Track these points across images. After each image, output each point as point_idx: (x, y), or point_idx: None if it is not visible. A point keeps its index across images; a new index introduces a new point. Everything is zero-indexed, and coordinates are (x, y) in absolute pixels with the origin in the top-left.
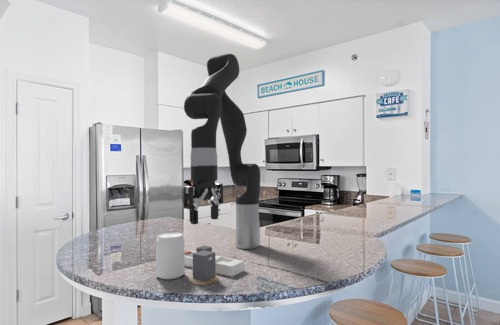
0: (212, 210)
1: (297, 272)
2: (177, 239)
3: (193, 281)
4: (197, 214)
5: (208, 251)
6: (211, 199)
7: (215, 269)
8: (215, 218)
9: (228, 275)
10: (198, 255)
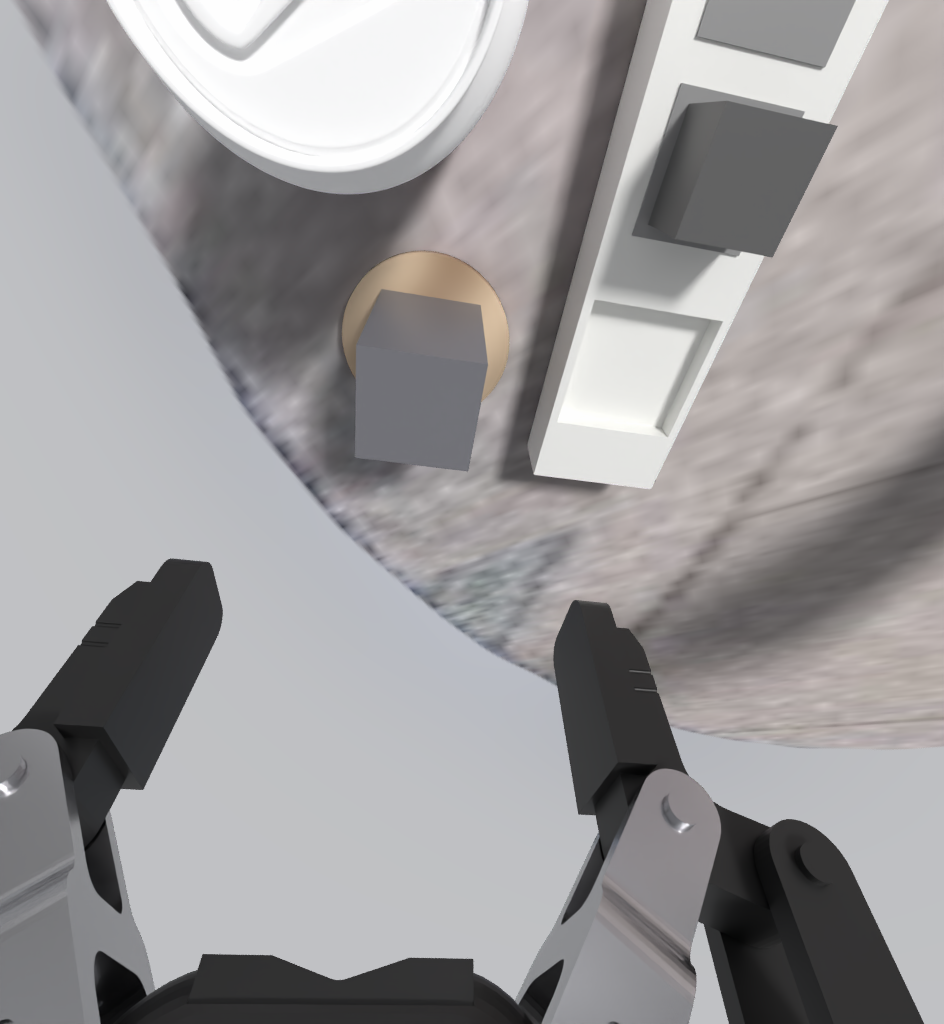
0: (591, 714)
1: (657, 622)
2: (280, 167)
3: (347, 322)
4: (158, 729)
5: (470, 418)
6: (548, 962)
7: (559, 347)
8: (558, 648)
9: (533, 428)
10: (356, 401)
